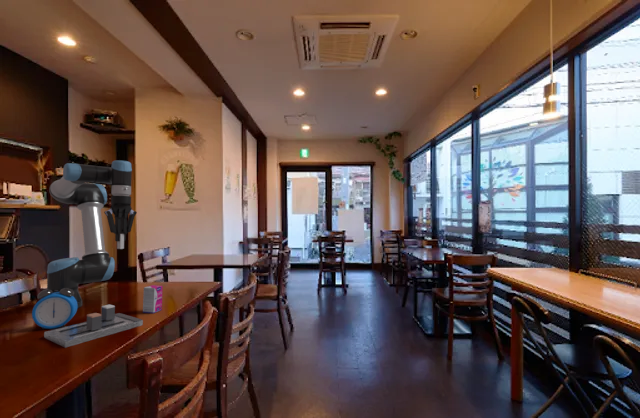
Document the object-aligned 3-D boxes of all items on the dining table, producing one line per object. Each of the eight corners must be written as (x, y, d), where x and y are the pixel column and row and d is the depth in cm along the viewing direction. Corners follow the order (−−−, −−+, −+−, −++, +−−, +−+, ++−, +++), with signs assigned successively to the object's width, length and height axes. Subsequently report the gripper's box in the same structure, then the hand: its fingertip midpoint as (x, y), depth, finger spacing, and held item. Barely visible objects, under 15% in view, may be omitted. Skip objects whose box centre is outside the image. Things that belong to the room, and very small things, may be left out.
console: (44, 337, 115) (44, 331, 115) (120, 318, 138) (120, 312, 138) (65, 347, 106) (65, 340, 107) (142, 325, 129) (142, 319, 129)
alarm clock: (30, 331, 121) (31, 292, 121) (37, 326, 127) (38, 288, 127) (73, 326, 127) (74, 288, 127) (77, 322, 132) (78, 285, 133)
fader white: (101, 318, 129) (101, 306, 129) (109, 316, 132) (109, 304, 132) (106, 320, 127) (106, 307, 127) (114, 318, 130) (114, 305, 130)
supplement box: (153, 313, 144) (154, 288, 144) (142, 313, 145) (142, 287, 145) (162, 310, 150) (162, 285, 150) (151, 309, 151) (151, 284, 151)
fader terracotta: (86, 328, 118) (86, 314, 118) (95, 326, 120) (96, 312, 120) (92, 330, 115) (92, 316, 116) (101, 328, 118) (101, 314, 118)
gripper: (110, 194, 135) (109, 250, 135) (140, 196, 147) (139, 247, 146) (101, 195, 139) (100, 249, 139) (131, 196, 150) (130, 247, 150)
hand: (120, 248), depth 142 cm, fingers closed
